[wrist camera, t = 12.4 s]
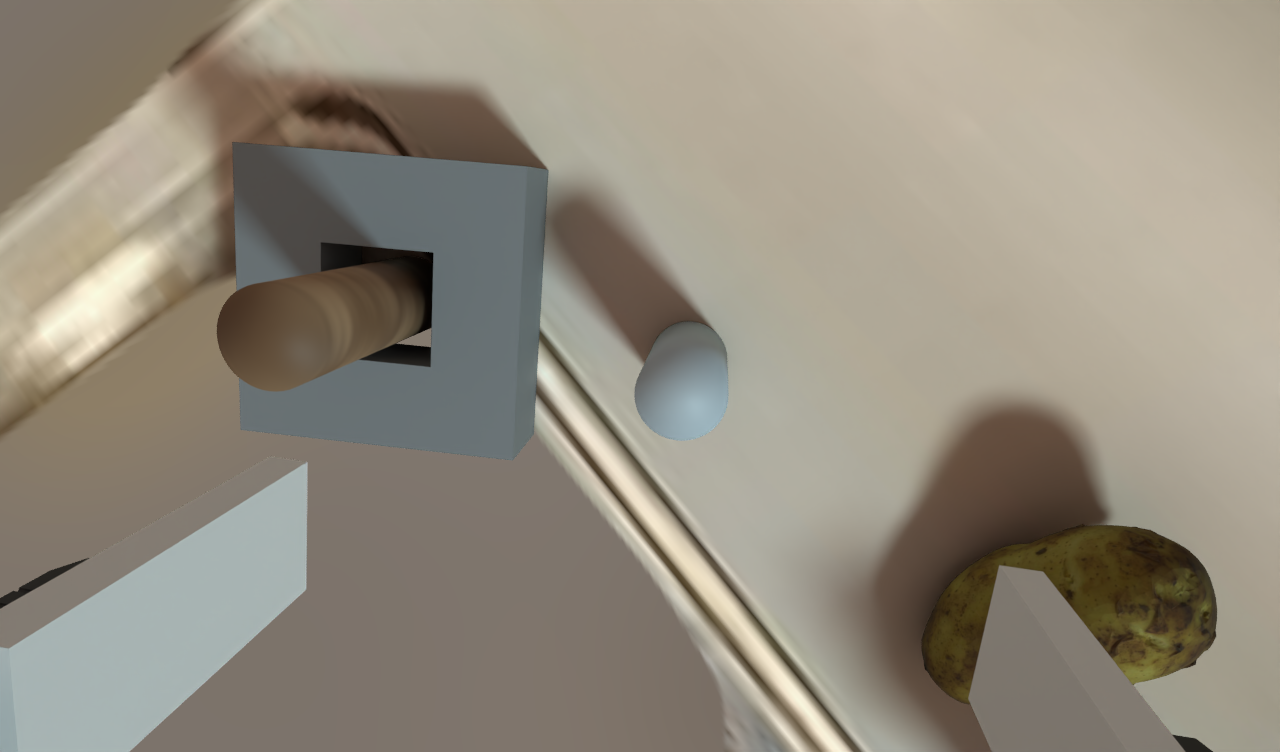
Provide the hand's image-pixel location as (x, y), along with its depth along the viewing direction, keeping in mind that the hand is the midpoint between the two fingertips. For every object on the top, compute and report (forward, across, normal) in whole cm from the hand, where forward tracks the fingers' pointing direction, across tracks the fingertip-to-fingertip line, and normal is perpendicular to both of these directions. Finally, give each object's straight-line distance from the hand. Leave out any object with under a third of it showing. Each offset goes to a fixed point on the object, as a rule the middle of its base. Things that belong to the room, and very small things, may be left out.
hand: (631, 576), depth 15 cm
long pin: (+27, -16, 0) cm, 31 cm away
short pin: (+28, 0, -2) cm, 28 cm away
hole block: (+27, -16, 0) cm, 31 cm away
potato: (+28, +19, -11) cm, 36 cm away
